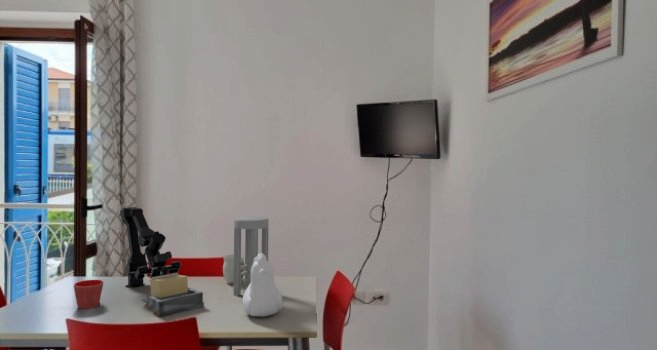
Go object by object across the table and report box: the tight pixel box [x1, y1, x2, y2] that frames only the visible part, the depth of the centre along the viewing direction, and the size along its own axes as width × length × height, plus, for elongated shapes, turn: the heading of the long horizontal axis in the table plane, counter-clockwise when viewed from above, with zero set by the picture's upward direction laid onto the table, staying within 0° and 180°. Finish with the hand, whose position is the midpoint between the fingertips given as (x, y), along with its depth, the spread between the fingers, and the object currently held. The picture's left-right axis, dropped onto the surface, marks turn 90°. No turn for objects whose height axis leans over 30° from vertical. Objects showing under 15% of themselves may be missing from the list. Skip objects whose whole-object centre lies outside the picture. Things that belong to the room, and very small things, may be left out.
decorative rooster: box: [242, 252, 283, 317], centre depth 170 cm, size 25×16×25 cm, turn 3°
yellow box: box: [149, 272, 189, 300], centre depth 177 cm, size 10×12×10 cm
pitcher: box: [222, 254, 245, 285], centre depth 213 cm, size 11×18×14 cm, turn 174°
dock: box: [141, 287, 205, 318], centre depth 179 cm, size 29×19×7 cm, turn 45°
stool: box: [233, 216, 270, 297], centre depth 194 cm, size 16×16×35 cm
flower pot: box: [73, 279, 104, 310], centre depth 174 cm, size 11×11×10 cm
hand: (164, 286), depth 180 cm, fingers closed, pressing on yellow box
